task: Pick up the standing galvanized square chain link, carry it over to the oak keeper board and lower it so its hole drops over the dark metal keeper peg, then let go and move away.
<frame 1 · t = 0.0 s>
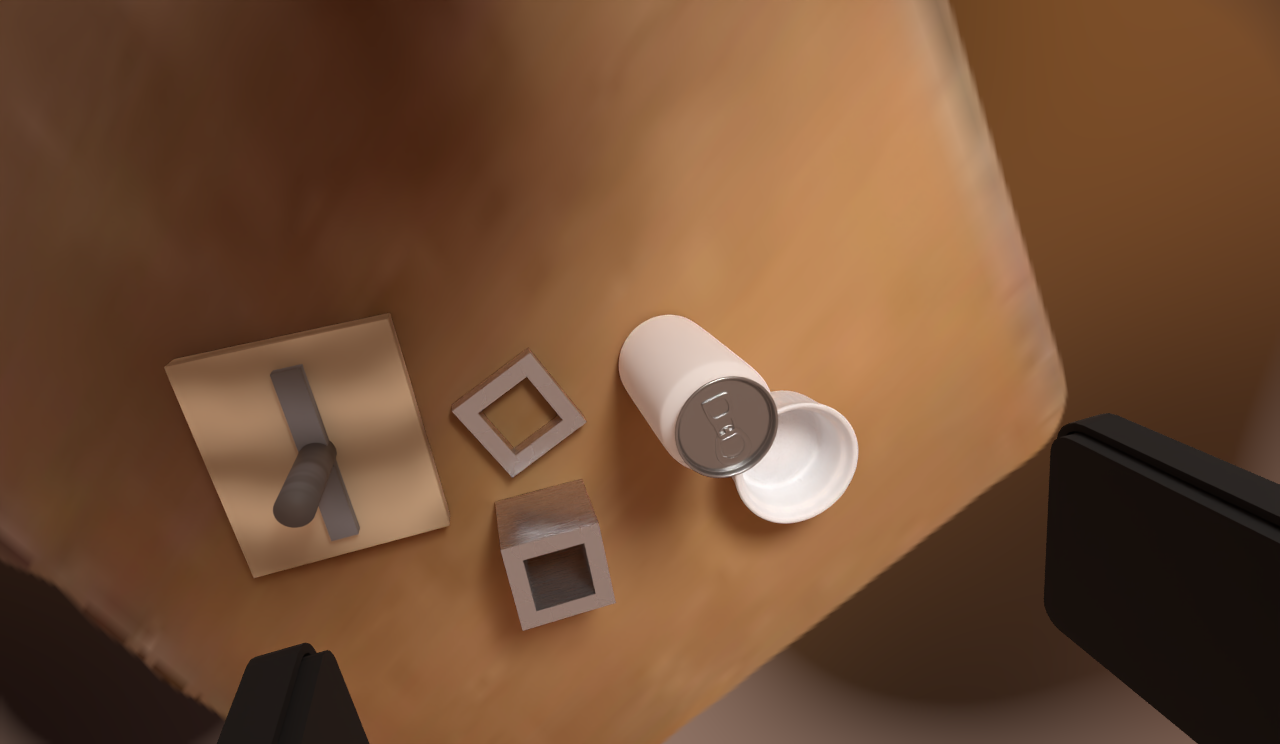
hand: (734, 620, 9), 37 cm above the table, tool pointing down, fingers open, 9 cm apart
ramekin: (771, 438, 52), on the table
link: (548, 527, 49), on the table
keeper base: (322, 442, 44), on the table
can: (663, 359, 48), on the table
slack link: (519, 410, 46), on the table
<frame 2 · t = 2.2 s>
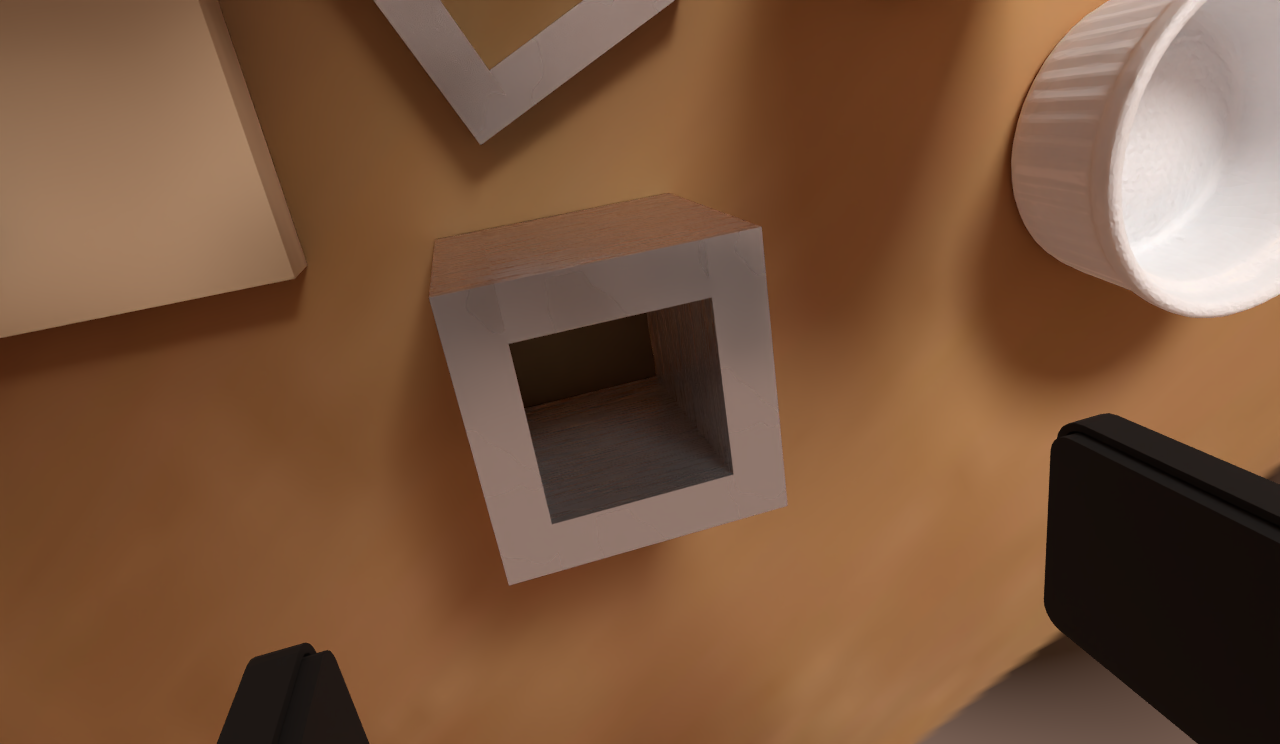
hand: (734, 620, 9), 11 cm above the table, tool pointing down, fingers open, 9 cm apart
ramekin: (1112, 137, 22), on the table
link: (577, 327, 19), on the table
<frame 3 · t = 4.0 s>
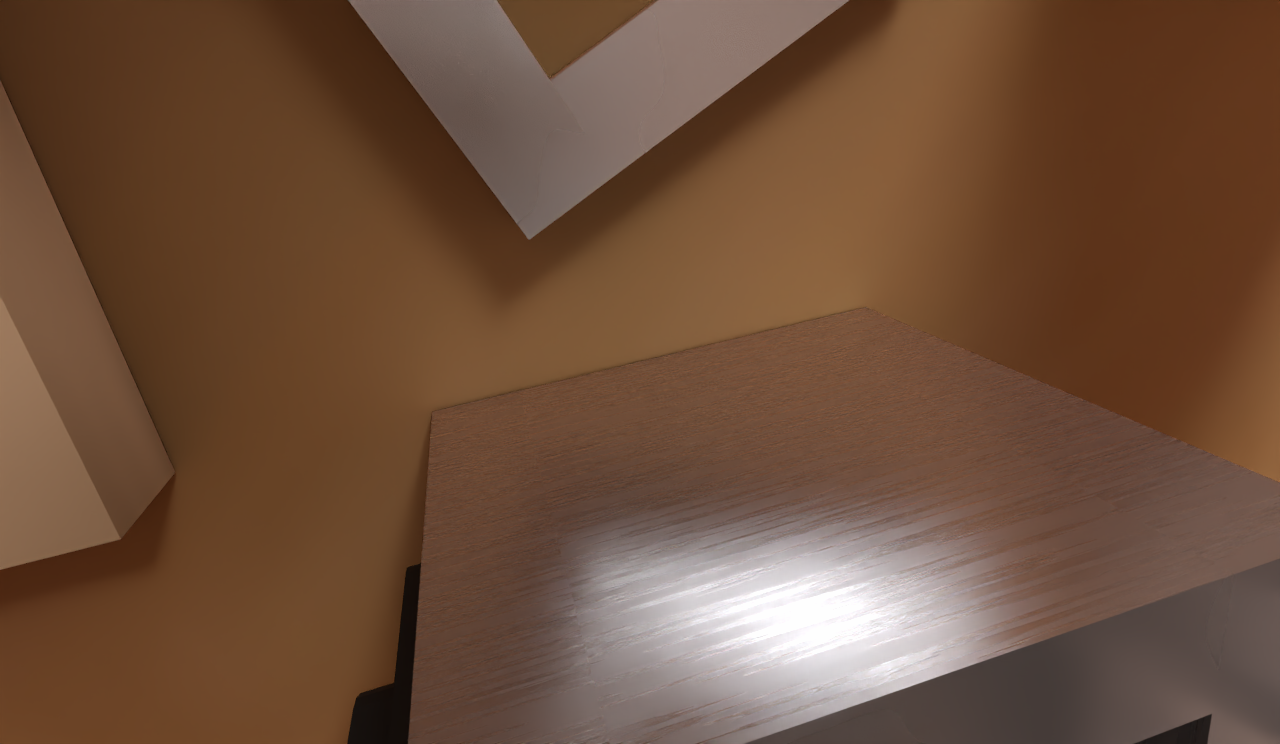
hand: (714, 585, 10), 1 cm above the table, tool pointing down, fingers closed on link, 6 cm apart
link: (691, 546, 11), on the table, touching gripper
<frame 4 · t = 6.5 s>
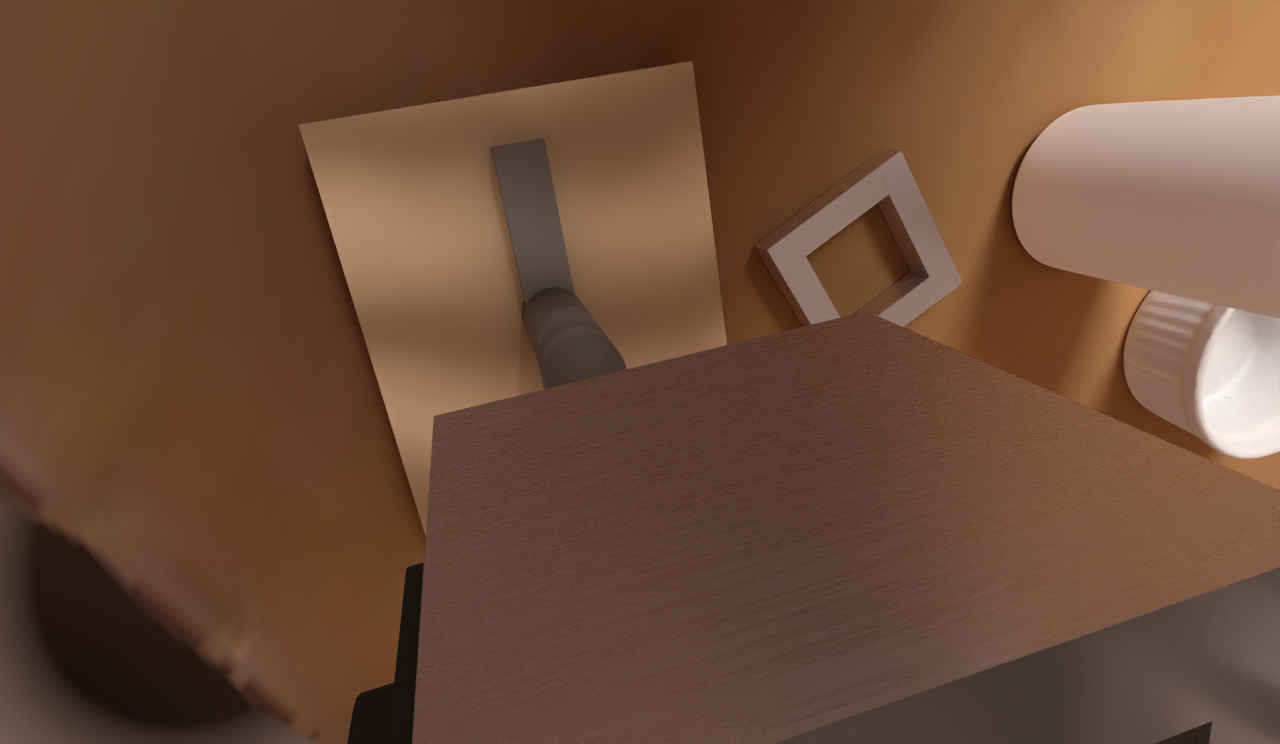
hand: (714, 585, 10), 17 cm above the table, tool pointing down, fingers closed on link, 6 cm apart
ramekin: (1184, 333, 34), on the table
link: (692, 550, 11), point 16 cm above the table, touching gripper
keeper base: (545, 302, 25), on the table
can: (1068, 188, 30), on the table
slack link: (852, 261, 28), on the table
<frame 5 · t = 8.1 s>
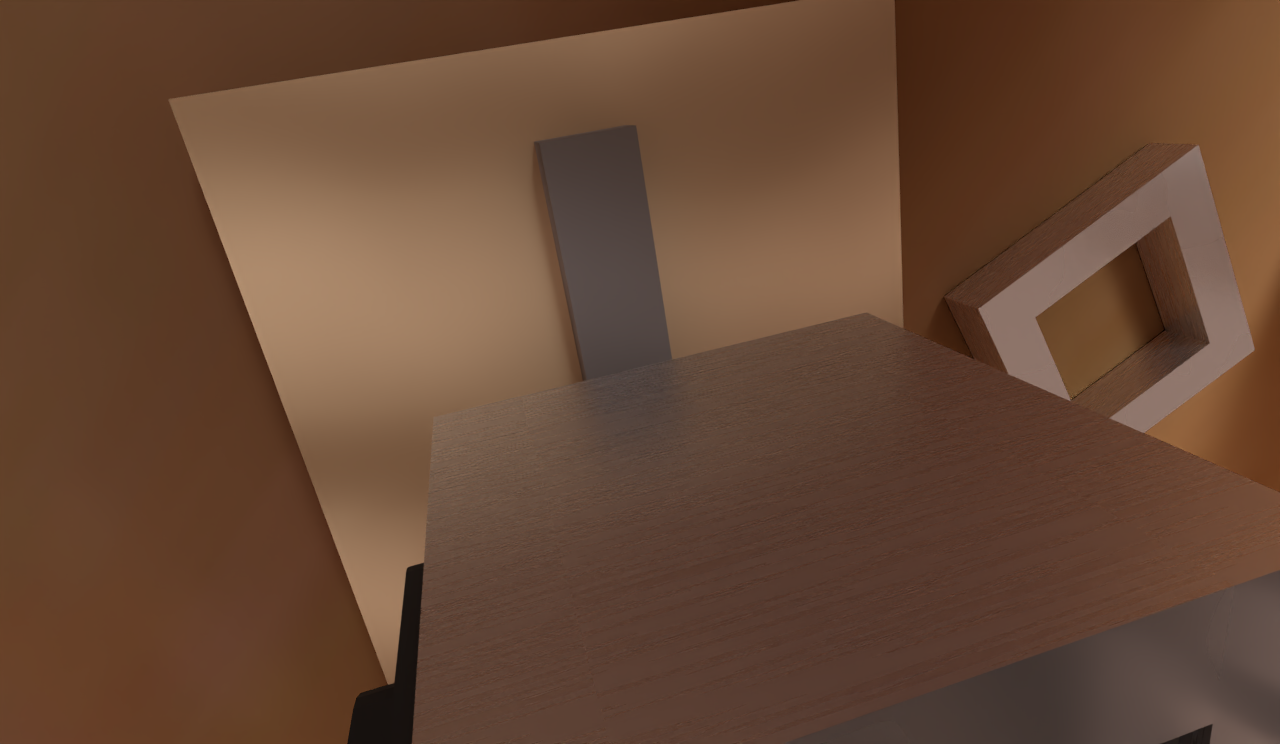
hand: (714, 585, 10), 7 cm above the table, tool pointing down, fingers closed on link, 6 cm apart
link: (692, 551, 11), point 6 cm above the table, touching gripper
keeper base: (616, 395, 16), on the table
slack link: (1085, 318, 18), on the table
when the fingers open (4 cm above the table, at t = 9.3 s): link drops 1 cm, resting on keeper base.
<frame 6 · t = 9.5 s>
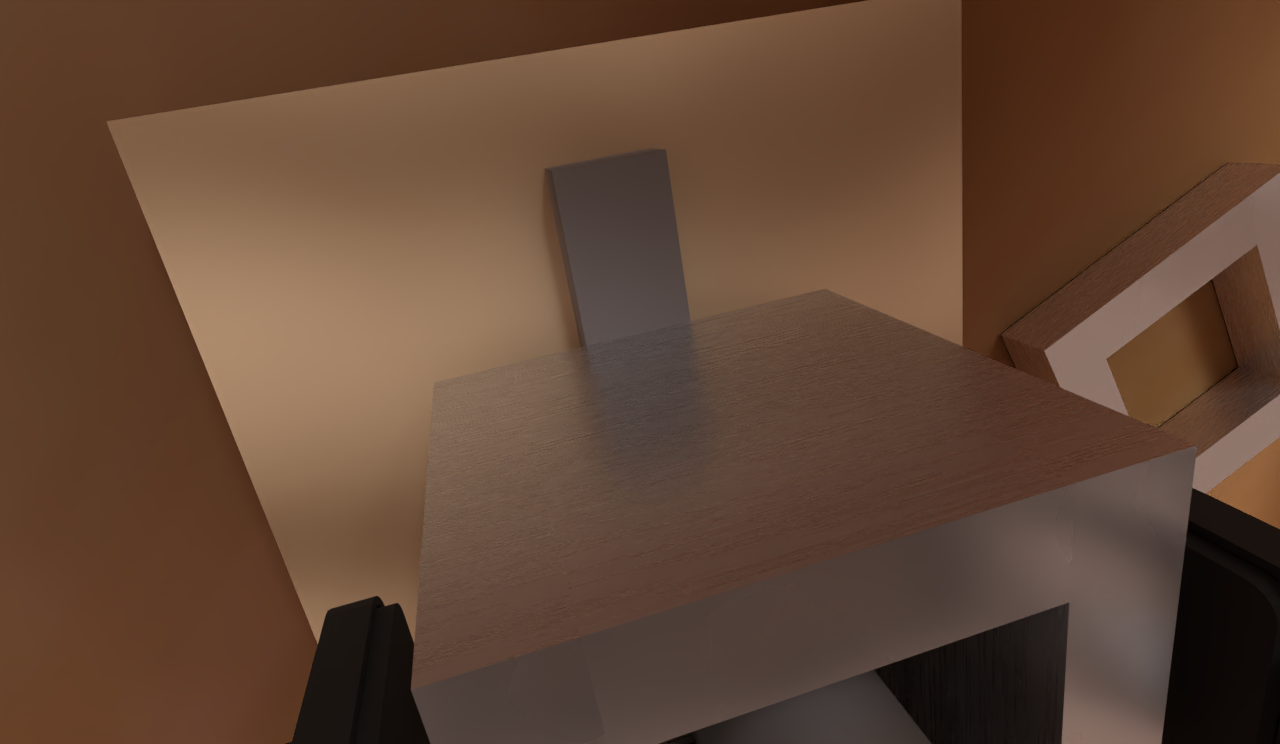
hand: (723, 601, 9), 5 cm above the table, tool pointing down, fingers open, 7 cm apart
link: (670, 507, 12), point 2 cm above the table, touching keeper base
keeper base: (635, 450, 14), on the table
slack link: (1153, 355, 16), on the table
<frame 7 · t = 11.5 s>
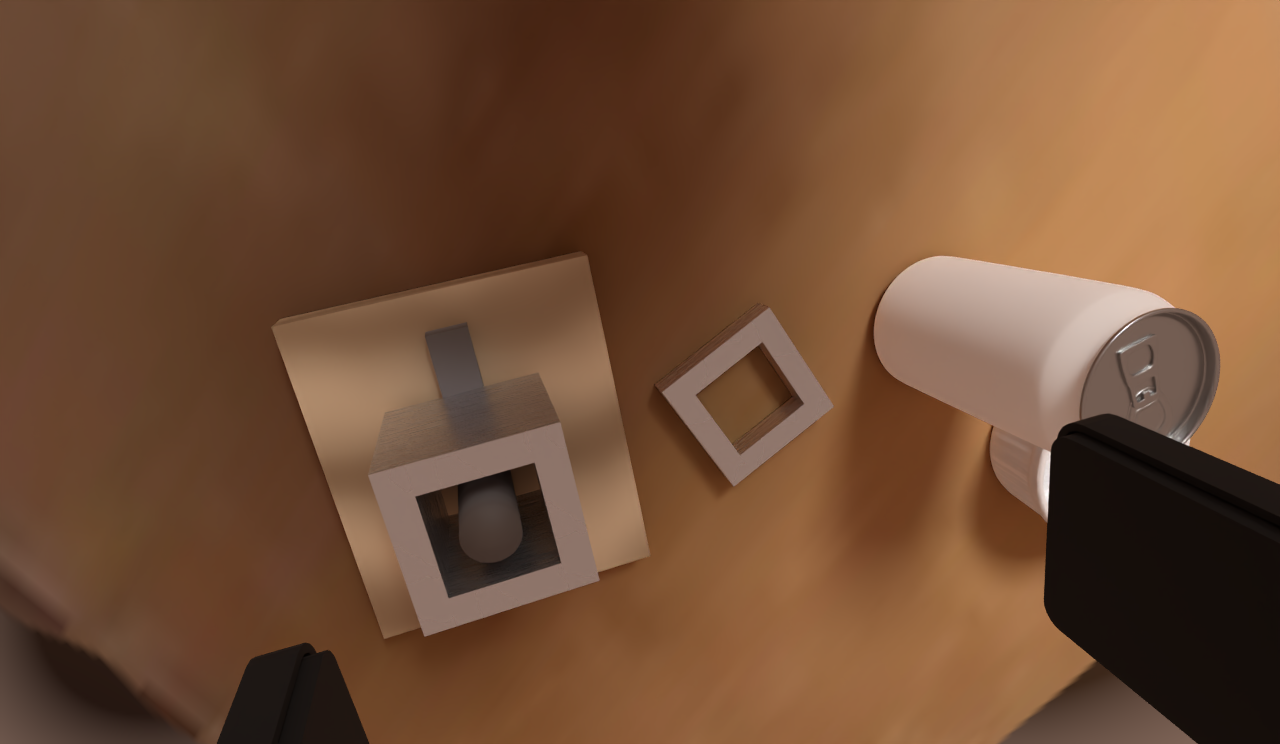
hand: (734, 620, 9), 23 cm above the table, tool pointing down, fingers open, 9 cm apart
ramekin: (1045, 429, 39), on the table
link: (483, 460, 29), point 2 cm above the table, touching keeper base
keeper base: (480, 441, 31), on the table
can: (925, 320, 35), on the table
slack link: (741, 392, 33), on the table
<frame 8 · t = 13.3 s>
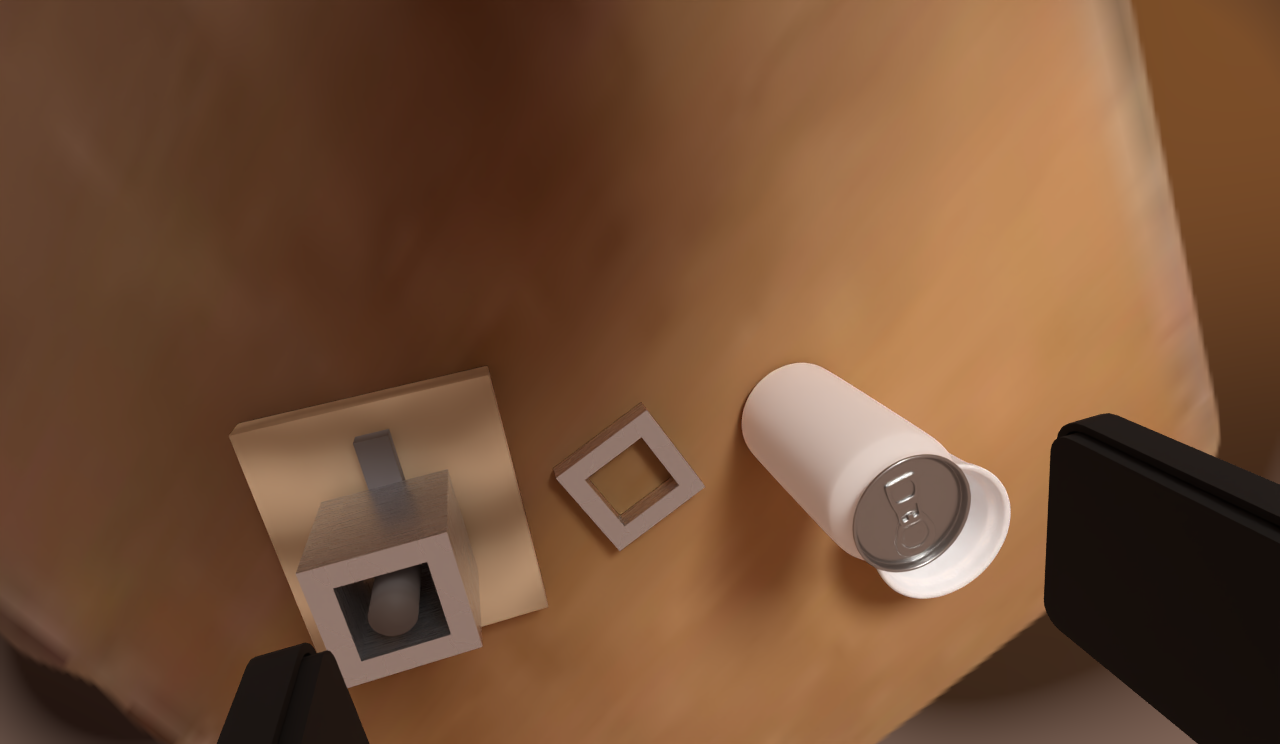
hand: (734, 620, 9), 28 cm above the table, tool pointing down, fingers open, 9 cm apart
ramekin: (900, 497, 46), on the table
link: (403, 537, 36), point 2 cm above the table, touching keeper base
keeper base: (405, 515, 38), on the table
can: (789, 412, 42), on the table
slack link: (627, 473, 40), on the table
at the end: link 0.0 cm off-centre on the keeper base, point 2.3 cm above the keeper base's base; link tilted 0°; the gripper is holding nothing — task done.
